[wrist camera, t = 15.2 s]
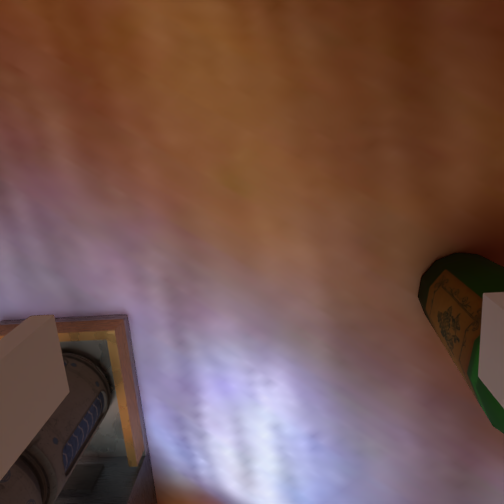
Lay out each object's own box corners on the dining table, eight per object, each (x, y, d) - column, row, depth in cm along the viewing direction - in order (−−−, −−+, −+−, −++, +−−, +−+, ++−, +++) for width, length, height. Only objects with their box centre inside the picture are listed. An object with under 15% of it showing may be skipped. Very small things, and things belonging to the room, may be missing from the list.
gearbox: (0, 320, 53) (-76, 375, 42) (127, 314, 52) (84, 368, 41) (47, 516, 61) (-7, 608, 49) (158, 514, 60) (130, 608, 48)
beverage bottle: (39, 440, 56) (-141, 677, 32) (22, 341, 52) (-194, 524, 28) (120, 441, 55) (0, 685, 31) (109, 341, 52) (-36, 529, 28)
